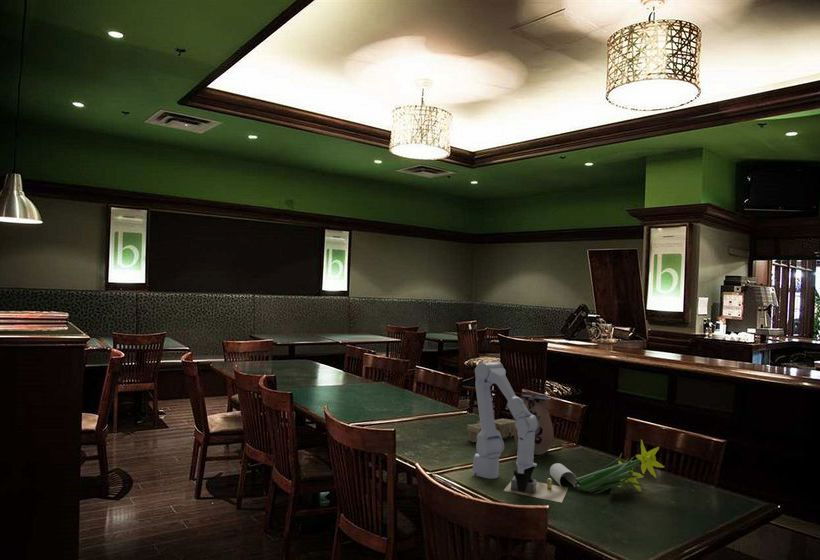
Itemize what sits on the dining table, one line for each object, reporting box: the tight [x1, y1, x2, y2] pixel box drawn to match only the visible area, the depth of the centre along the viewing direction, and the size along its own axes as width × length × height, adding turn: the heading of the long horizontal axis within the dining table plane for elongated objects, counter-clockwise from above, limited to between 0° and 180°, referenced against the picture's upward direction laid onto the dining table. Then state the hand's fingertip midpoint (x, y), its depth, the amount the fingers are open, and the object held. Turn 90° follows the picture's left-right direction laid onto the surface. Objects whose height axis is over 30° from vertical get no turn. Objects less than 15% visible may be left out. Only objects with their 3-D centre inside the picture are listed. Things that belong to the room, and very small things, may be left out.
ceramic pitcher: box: [514, 393, 555, 456], centre depth 251 cm, size 18×21×25 cm
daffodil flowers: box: [575, 439, 665, 495], centre depth 204 cm, size 17×15×35 cm
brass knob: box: [546, 477, 553, 490], centre depth 199 cm, size 2×2×4 cm
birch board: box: [503, 481, 569, 503], centre depth 198 cm, size 20×16×2 cm
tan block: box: [466, 418, 516, 444], centre depth 269 cm, size 8×8×29 cm
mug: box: [549, 462, 580, 488], centre depth 209 cm, size 10×7×12 cm
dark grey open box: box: [510, 475, 538, 494], centre depth 197 cm, size 8×5×4 cm, turn 66°
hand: (523, 488), depth 197 cm, fingers open, 7 cm apart
